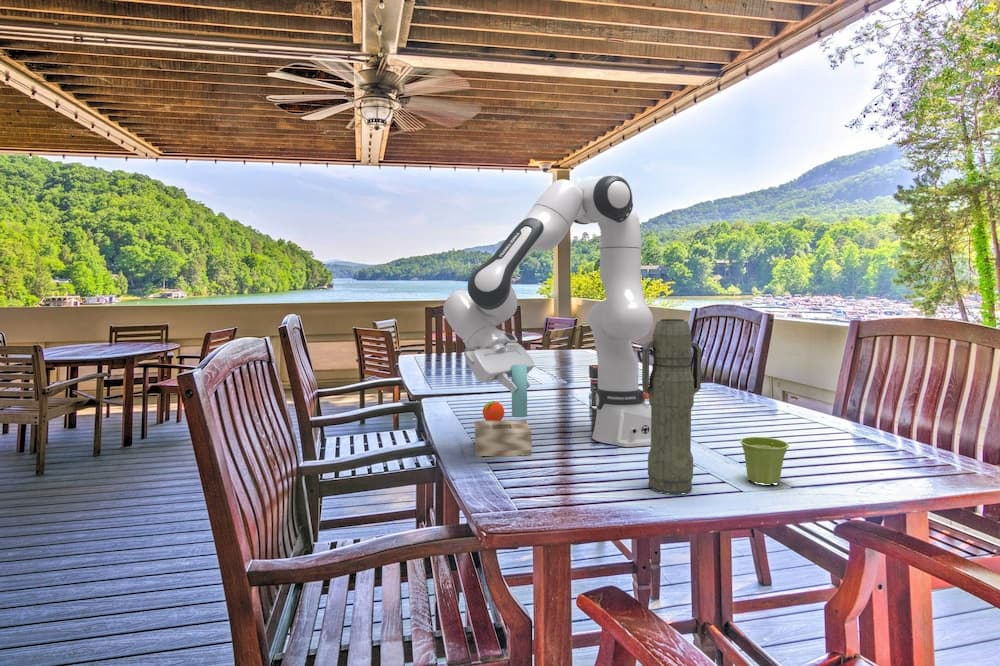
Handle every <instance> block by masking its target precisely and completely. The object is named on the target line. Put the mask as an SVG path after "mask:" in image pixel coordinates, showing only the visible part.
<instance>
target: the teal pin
mask: <svg viewBox="0 0 1000 666" xmlns="http://www.w3.org/2000/svg"><path fill="white" fill-rule="evenodd" d="M527 380H528V374H527V365H523V364H516V365H512V377H511V381H512V382H515V383H516V384H517V385H518V386H519V389H518V390H517V391H516V392H512V393H511V417H513V418H526V417H527V416H528V389H527Z"/></svg>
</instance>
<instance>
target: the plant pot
mask: <svg viewBox="0 0 1000 666" xmlns="http://www.w3.org/2000/svg"><path fill="white" fill-rule="evenodd" d="M739 443H740V444H741V445H742V446H741V447H742V450H743V454H744V459H745V467H746V475H747V480H748V479H749V480H751V481H753V482H757V483H764V484H773V483H778V482H779V483H780V480H781V475H782V470H783V464H784V458H785V454H786V453H787V450H788V448H790V444H789V442H786V441H784V440H780V439H777V438H772V437H763V436H749V437H742V438H741V439H740V440H739ZM751 481H750V482H751Z"/></svg>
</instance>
